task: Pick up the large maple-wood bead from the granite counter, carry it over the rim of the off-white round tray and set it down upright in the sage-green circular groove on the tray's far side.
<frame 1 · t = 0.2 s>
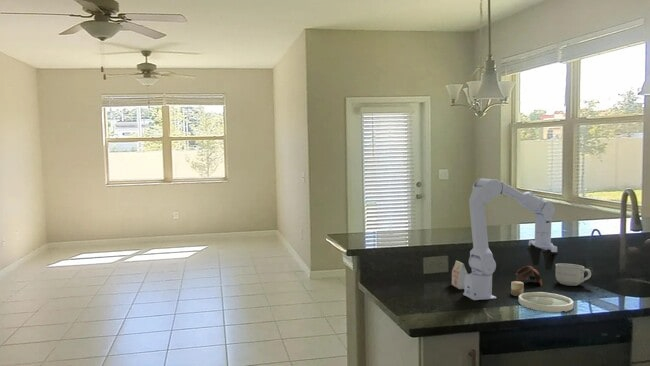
hand: (541, 267, 200), 10 cm above the worktop, fingers open, 7 cm apart
teacup: (572, 285, 212), on the worktop
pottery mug: (529, 283, 215), on the worktop
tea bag: (459, 287, 210), on the worktop
maple bead: (517, 294, 198), on the worktop
groove tray: (545, 304, 185), on the worktop
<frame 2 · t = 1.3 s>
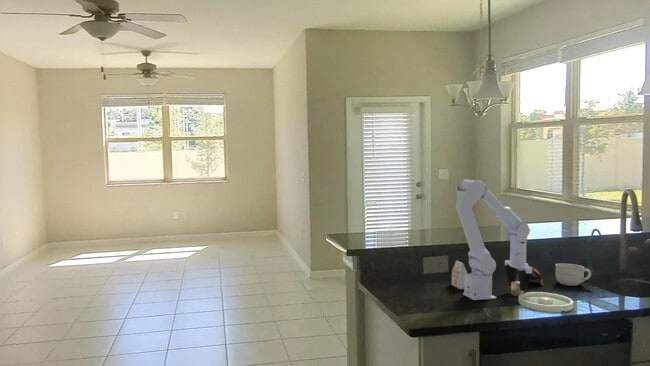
hand: (517, 288, 198), 2 cm above the worktop, fingers open, 7 cm apart
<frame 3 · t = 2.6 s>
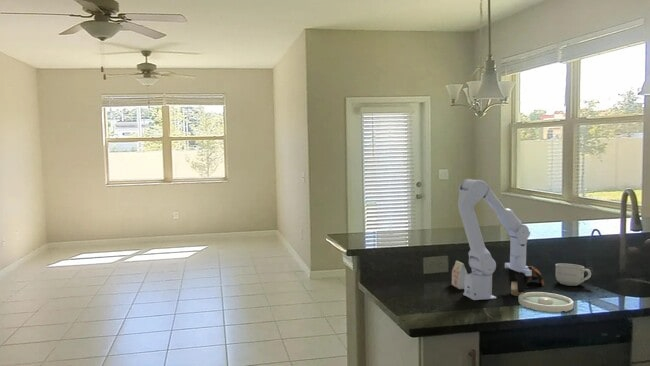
hand: (517, 290, 198), 1 cm above the worktop, fingers closed on maple bead, 4 cm apart
maple bead: (517, 294, 198), on the worktop, touching gripper
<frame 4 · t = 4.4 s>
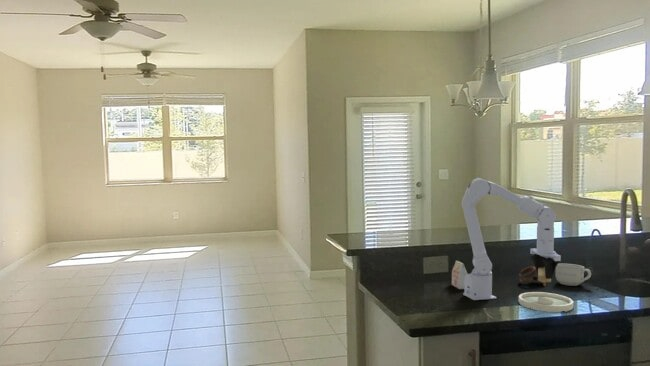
hand: (544, 276, 190), 9 cm above the worktop, fingers closed on maple bead, 4 cm apart
maple bead: (544, 280, 190), point 7 cm above the worktop, touching gripper
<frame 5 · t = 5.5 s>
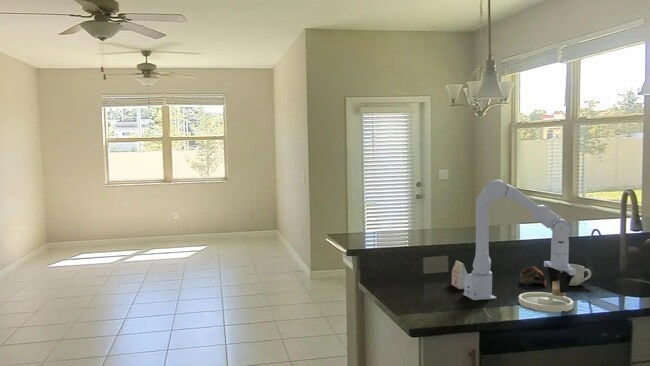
hand: (558, 290, 186), 5 cm above the worktop, fingers closed on maple bead, 4 cm apart
maple bead: (558, 294, 186), point 3 cm above the worktop, touching gripper
when the fingers open (4 cm above the worktop, at t = 6.5 s): maple bead drops 1 cm, resting on groove tray.
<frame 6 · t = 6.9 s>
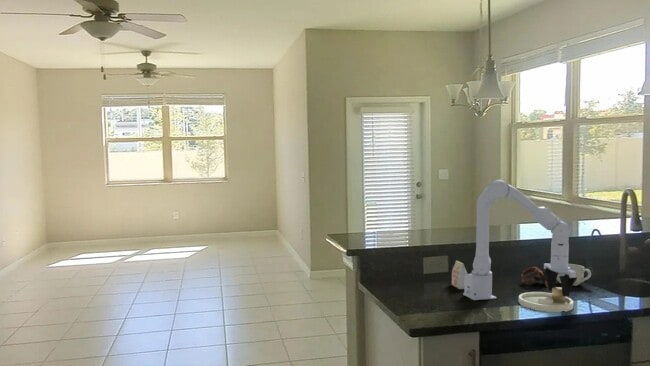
hand: (558, 293, 186), 4 cm above the worktop, fingers open, 7 cm apart
maple bead: (558, 301, 187), point 1 cm above the worktop, touching groove tray
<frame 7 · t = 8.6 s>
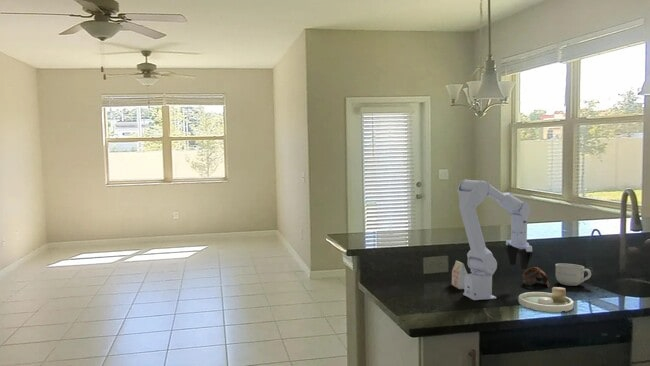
hand: (518, 266, 203), 9 cm above the worktop, fingers open, 7 cm apart
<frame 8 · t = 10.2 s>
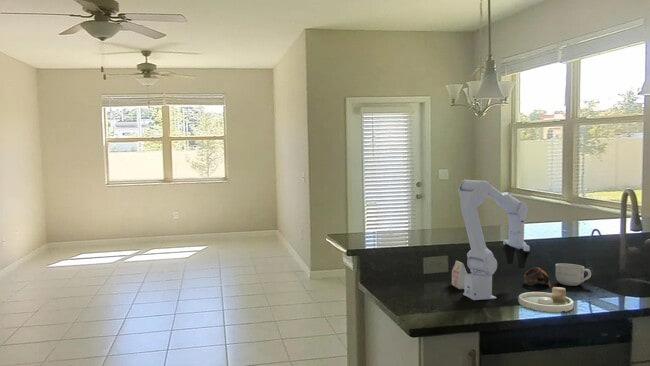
hand: (515, 266, 204), 9 cm above the worktop, fingers open, 7 cm apart
at the end: maple bead 0.0 cm from the target spot on the groove tray, point 0.8 cm above the groove tray's base; maple bead tilted 0°; the gripper is holding nothing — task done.
